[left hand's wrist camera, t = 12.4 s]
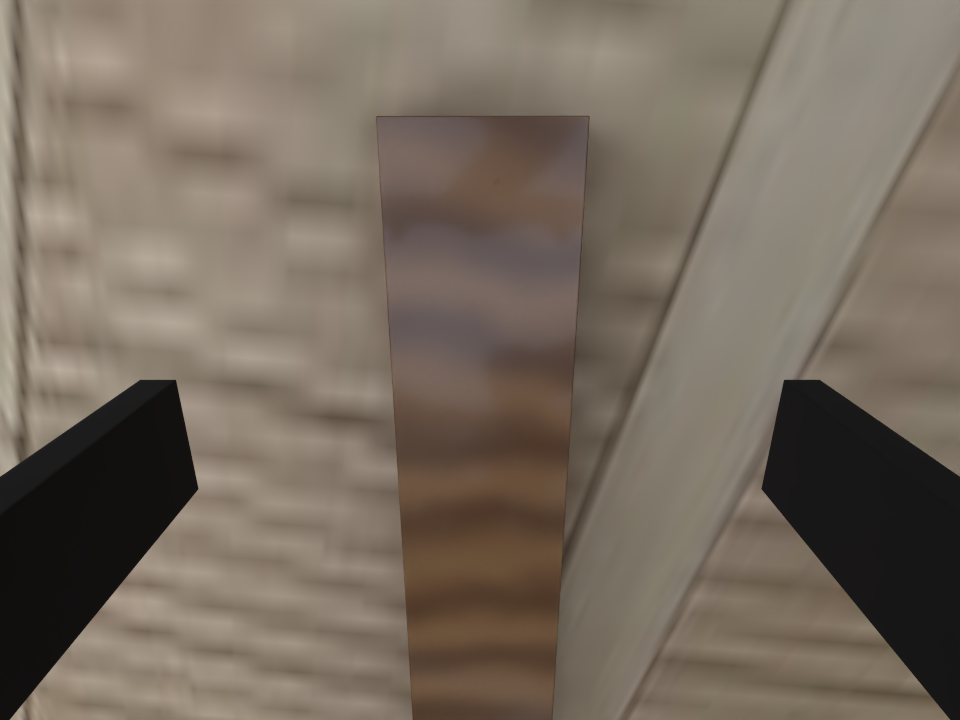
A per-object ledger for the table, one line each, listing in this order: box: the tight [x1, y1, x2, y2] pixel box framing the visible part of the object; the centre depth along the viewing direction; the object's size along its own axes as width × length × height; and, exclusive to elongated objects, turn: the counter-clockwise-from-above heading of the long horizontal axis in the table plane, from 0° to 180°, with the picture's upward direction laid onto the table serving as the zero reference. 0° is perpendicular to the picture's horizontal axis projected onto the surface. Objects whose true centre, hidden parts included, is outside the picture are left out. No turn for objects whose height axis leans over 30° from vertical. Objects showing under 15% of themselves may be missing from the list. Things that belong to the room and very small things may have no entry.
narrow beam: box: [376, 116, 589, 720], centre depth 39 cm, size 57×10×6 cm, turn 0°
